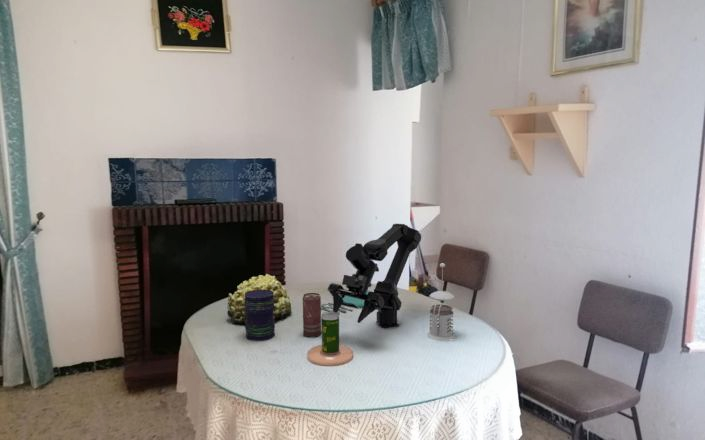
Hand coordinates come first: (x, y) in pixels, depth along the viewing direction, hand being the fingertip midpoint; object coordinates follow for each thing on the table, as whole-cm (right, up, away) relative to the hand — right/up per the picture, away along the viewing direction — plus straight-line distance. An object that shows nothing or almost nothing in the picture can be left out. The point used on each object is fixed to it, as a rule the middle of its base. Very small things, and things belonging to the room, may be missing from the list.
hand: (345, 319), depth 157 cm
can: (-11, -8, +13) cm, 19 cm away
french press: (+32, -8, +10) cm, 35 cm away
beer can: (-5, -9, -6) cm, 12 cm away
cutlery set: (+2, -4, +48) cm, 48 cm away
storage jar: (-29, -8, +12) cm, 32 cm away
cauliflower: (-33, -6, +33) cm, 47 cm away
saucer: (-5, -10, -6) cm, 13 cm away
